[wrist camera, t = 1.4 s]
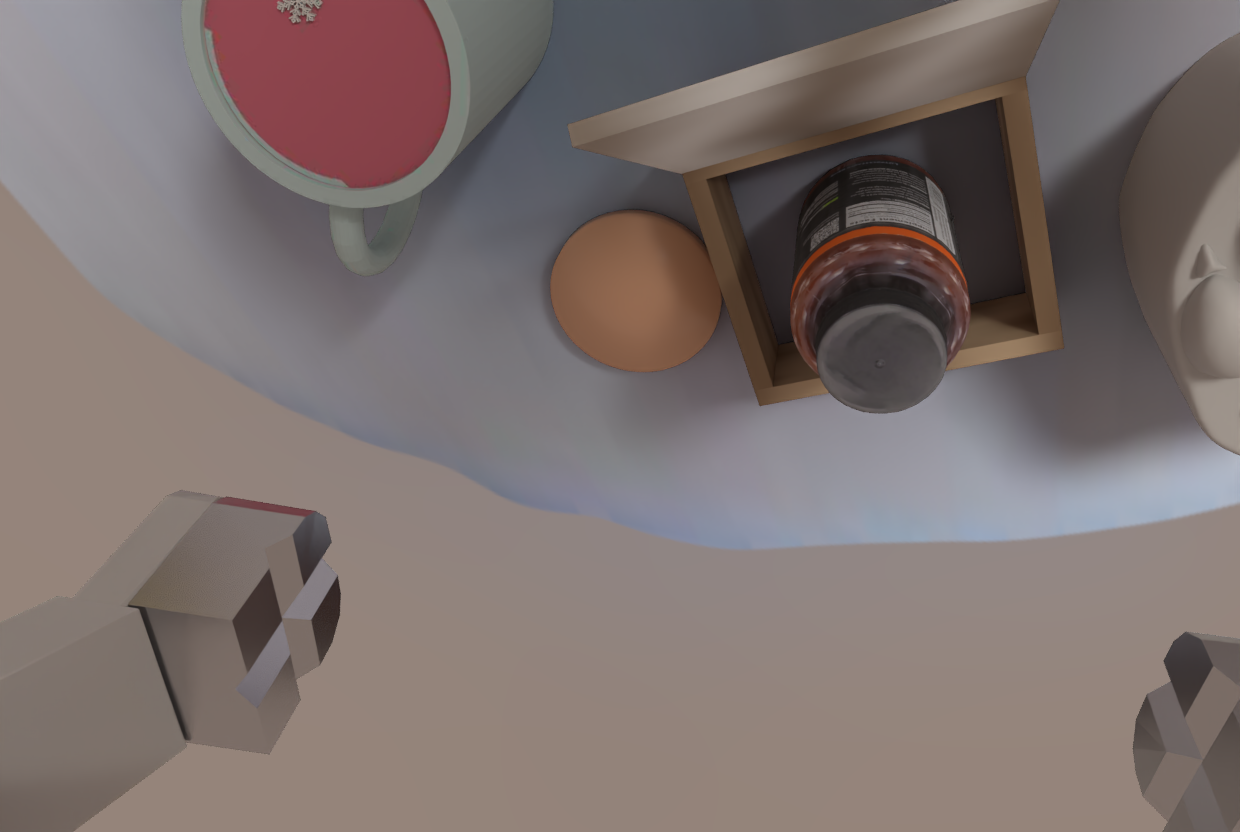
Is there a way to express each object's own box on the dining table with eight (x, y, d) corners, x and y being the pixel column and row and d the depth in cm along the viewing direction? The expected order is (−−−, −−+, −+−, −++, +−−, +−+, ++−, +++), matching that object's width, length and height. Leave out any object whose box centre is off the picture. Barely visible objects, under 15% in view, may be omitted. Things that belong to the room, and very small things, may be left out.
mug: (321, -163, 35) (164, -134, 27) (567, -110, 35) (481, -64, 27) (328, 187, 43) (209, 290, 35) (527, 235, 43) (452, 350, 35)
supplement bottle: (911, 305, 41) (928, 466, 32) (777, 260, 41) (756, 409, 32) (977, 176, 37) (1017, 316, 28) (831, 128, 37) (824, 252, 28)
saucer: (692, 189, 40) (689, 196, 39) (743, 344, 44) (741, 353, 43) (528, 234, 43) (524, 242, 42) (590, 377, 46) (586, 386, 46)
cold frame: (988, -108, 32) (1058, -29, 21) (1049, 305, 40) (1123, 519, 29) (651, 10, 36) (565, 127, 25) (765, 363, 44) (736, 570, 33)
